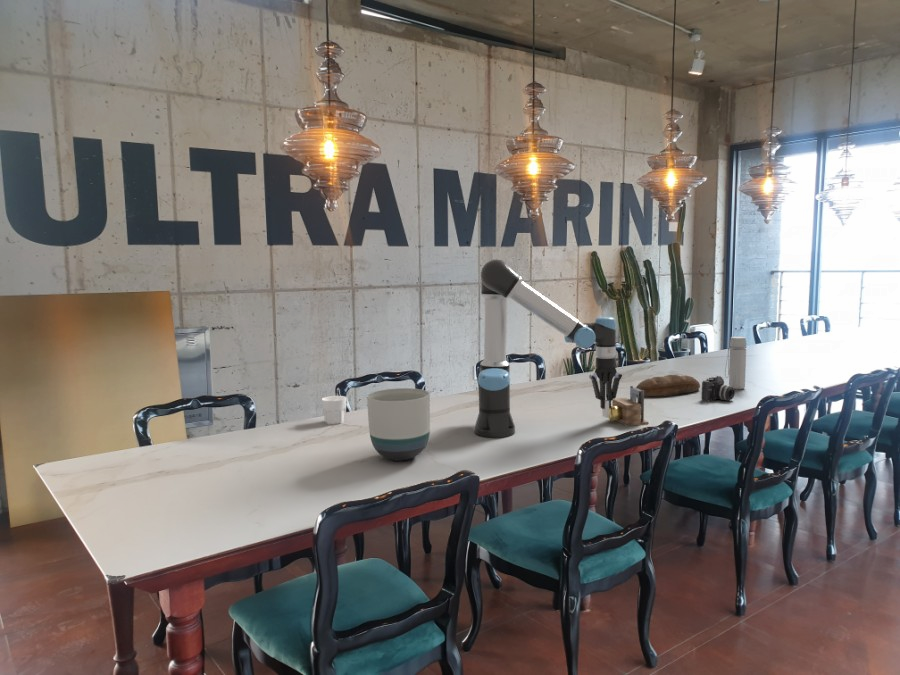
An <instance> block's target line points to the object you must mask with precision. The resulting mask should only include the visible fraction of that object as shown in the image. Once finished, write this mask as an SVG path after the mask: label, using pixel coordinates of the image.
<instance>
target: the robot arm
mask: <svg viewBox="0 0 900 675" xmlns="http://www.w3.org/2000/svg"><path fill="white" fill-rule="evenodd" d="M480 280H481V283H480V284H481V285H480V286H481V287H480V288H481V289H480V290H481V291H480V293H481V296H482V297H483V298H484V342H483V343H484V344H483V345H484V346H483V348H484V349H483V351H484V352H483V360H482V361H481V362H480V366H479V374H478V377H477V383H478V415H477V418H476V422H475V425H474V434H476V435H477V436H480V437H483V438H495V439H497V438H504V437H505V438H506V437H509V436H512V435H514V434H515V433H516V427H515V422H514V419H513V417H512V414H511V396H510V395H511V394H510V392H511V391H510V390H511V388H510V387H511V383H510V382H511V378H510V368H511V367H510V362H509V361H507V325H508V323H507V322H508V320H507V319H508V317H507V316H508V299H511V300H512V301H514V302H516V303H517V304H519V305H520V306H522V307H523V308H524V309H526V310H527V311H528V312H530V313H531V314H533V315H535V316H536V317H537V318H539V319H540V320H541V321H543V322H544V323H546V324H548V325H549V326H550V327H551V328H553V329H555V330H556V331H557V332H559V333H560V334H561V335H563V336H564V341H565V342H566V343H571V344H575V345H576V346H578V347H580V348H583V349H588V348H590V347H592V346H593V345H594V344H595V357H596V358H595V371H594V373H593V374H590V375H589V379H590V381H591V383H592V387H593V392H594V396H595V399H597V400H599V401H600V402H599V403H600V406H599V407H600V409H602V417H604V418H608V417H609V408H611V406H612V399H617V394H618V390H619V385H620V380H621V379H622V377H623V374H621V373H619V372H617V369H616V368H617V367H616V365H617V362H616V361H617V359H616V355H617V354H616V353H617V351H616V350H617V347H616V345H617V344H616V341H617V340H616V339H617V335H616V334H617V332H616V331H617V328H616V319H615V318H614V317H612V316H600V317H599V316H598V317H596V318H595V321H594V322H582V321H580V320H579V319H578V318H576V317H574V316H573V315H571V313H569V312H567V311H566V310H564V309H563V308H562V307H560V306H559V305H558V304H556V303H555V302H553V301H551V300H550V299H549V298H548V297H546V296H544V295H543V294H542V293H540V292H539V291H537V290H536V289H534V288H533V287H532V286H530V284H527V283H526V282H525V281H523V277H522V276H521V275H520V274H518V273H517V272H516V271H515V270H513V269H512V267H511V266H510V265H509V264H508V263H507V262H506V261H504V260H502V259H497V258H496V259H491V260H488V261H487V262H486V263H485V264H484V265H483V267H482V268H481V271H480ZM597 379H598V380H599V382H598V380H597Z"/></svg>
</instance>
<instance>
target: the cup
mask: <svg viewBox="0 0 900 675" xmlns="http://www.w3.org/2000/svg"><path fill="white" fill-rule="evenodd" d="M321 403H322V404H321V405H322V408H323V409H322V410H323V417H324V422H325V423H326V422H327V423H326V425H337V424H339V423H341V424H343V423H345V422H346V420H347V418H346V416H347V396H345V395H329V396H324V397H322V398H321Z"/></svg>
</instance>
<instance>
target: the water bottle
mask: <svg viewBox="0 0 900 675" xmlns="http://www.w3.org/2000/svg"><path fill="white" fill-rule="evenodd" d="M746 339H747V337H745V336H731V337H730V341H729V346H728V347H727V355H726V359H727V361H726V363H725V366H727V363H728V374H727V375H728V376H726V373H724V376H725V378H726V379H728V386H731V387H732V388H733V389H734V390H744V389H745V388H746V370H747V369H746V367H747V366H746V365H747V364H746V363H747V340H746ZM726 370H727V367H725V369H724V372H727V371H726Z"/></svg>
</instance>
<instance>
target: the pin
mask: <svg viewBox="0 0 900 675" xmlns="http://www.w3.org/2000/svg"><path fill="white" fill-rule="evenodd" d="M621 417H622V408H620V407H619V406H612V405H611V408H609V417H607V418H608V420H609V421H610V422H611V421H617V420H620V419H621Z"/></svg>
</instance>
